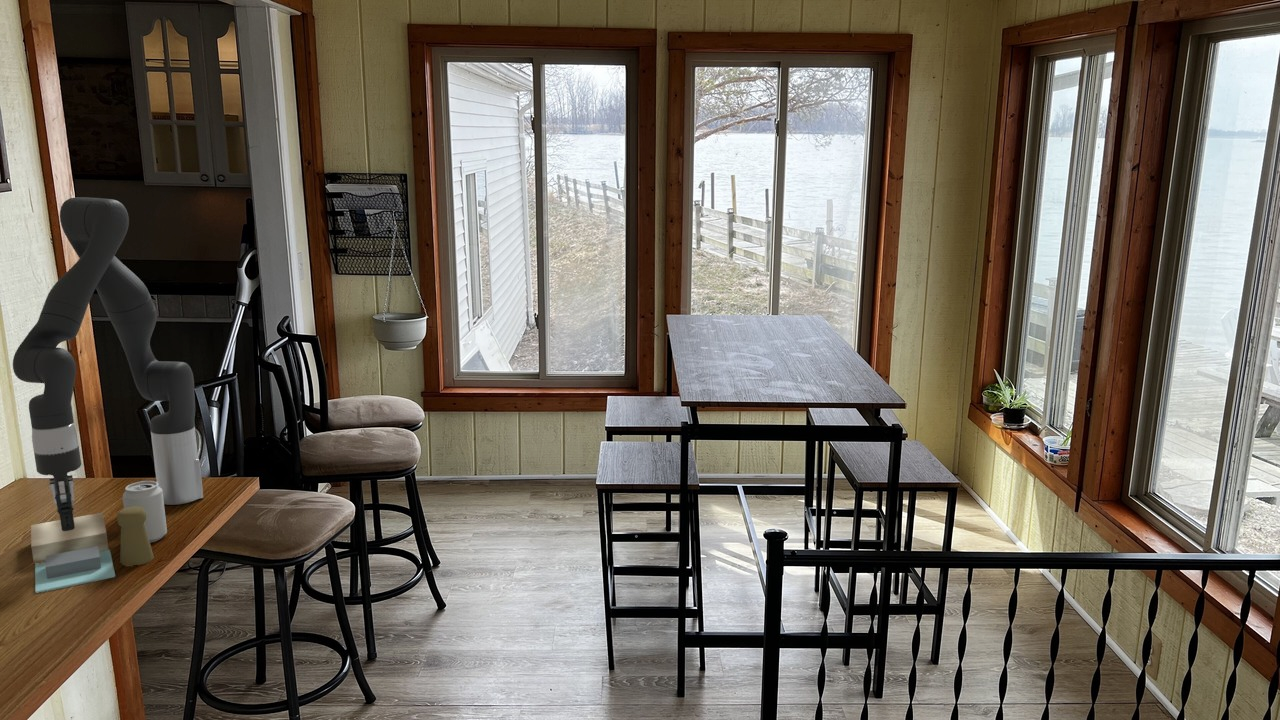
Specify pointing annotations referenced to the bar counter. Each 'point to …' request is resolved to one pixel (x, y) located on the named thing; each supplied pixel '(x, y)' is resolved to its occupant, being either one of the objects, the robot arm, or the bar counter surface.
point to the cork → (134, 537)
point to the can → (148, 506)
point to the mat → (74, 575)
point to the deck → (68, 536)
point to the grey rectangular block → (72, 562)
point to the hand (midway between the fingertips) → (68, 529)
